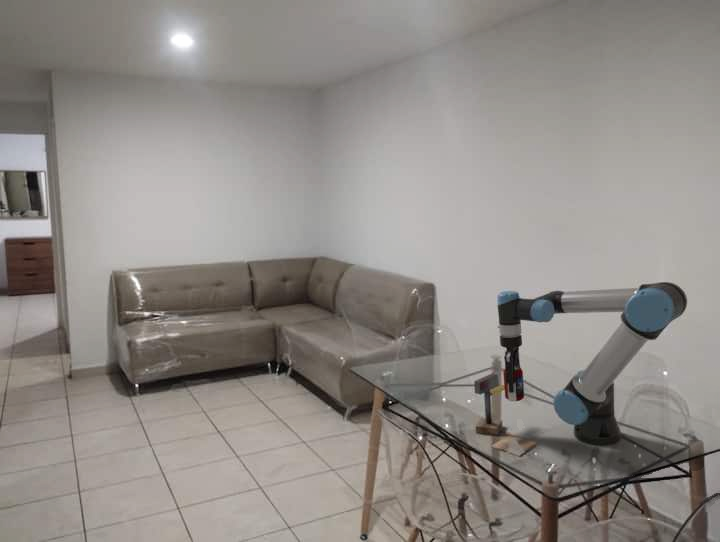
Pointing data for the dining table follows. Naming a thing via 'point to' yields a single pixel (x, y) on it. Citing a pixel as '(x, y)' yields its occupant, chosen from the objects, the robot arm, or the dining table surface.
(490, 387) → the t key
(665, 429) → the dining table surface
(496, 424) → the latch housing
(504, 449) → the mat
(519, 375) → the beverage can
